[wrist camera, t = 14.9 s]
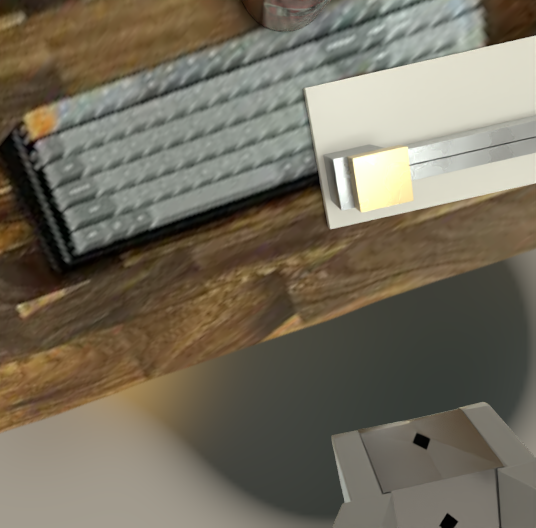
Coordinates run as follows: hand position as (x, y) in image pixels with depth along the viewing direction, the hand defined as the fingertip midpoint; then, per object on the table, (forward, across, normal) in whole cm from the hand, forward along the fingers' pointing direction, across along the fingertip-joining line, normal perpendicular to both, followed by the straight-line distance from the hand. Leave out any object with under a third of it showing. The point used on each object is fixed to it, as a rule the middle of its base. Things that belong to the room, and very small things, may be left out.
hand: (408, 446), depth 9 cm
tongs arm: (+32, -21, -1) cm, 39 cm away
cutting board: (+34, -20, -1) cm, 39 cm away
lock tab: (+28, -8, 0) cm, 29 cm away
